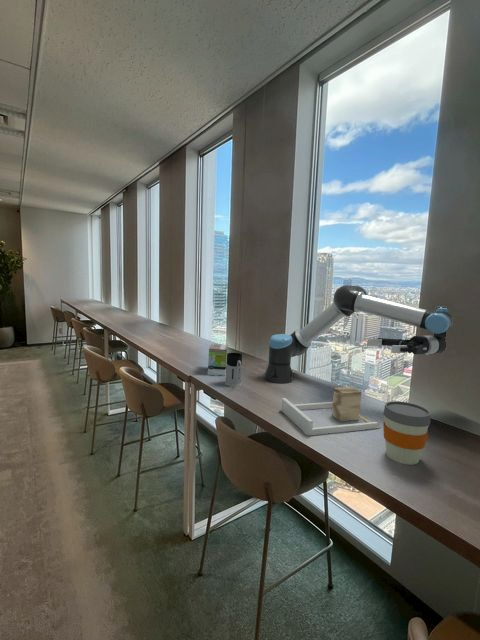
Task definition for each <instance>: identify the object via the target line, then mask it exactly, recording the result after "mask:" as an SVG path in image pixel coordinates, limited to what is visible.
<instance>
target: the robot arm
mask: <svg viewBox="0 0 480 640" xmlns="http://www.w3.org/2000/svg"><path fill="white" fill-rule="evenodd" d="M439 307H440V308H438V309H437V310H436V312H435V310H434V311H433V310H429V309H424V308H421V307H416V306H412V305H409V304H404V303H400V302H396V301H392V300H388V299H383V298H381V297H380V298H379V297H377V296H371V295H369V293H368V291H367V290H366V289H365V288H364V287H363V286H360V285H349V284H348V285H342V286H340V287H338V288H337V289H336V290H335V292H334V294H333V299H332V303H331V304H330V305H329V306H328V307H326V308H325V309H324V310H323V311H322V312H320V313H319V314H318V315H317V316H316V317H314V318H313V319H312V320H311V321H310V322H309V323H307V324H305V326H303V328H301V329H300V328H299V329H296V330H294V331H293V332H292V333H291V334H287V333H280V334H279V333H278V334H277V333H276V334H273V335H271V337H269V342H268V363H267V367H266V369H265V372H264V377H263V378H264V380H266V382H267V381H268V382H271V383H275V384H288V383H291V382H293V381H294V374H293V371H292V367H291V365H292V364H291V363H292V361H291V360H292V358H293V357H297V356H298V357H299V356H302V355H303V354H305V353H306V351H308V349H309V348H310V347H311V346H312V342H313V341H314V340H316V339H317V338H319V336H321V335H323V334H324V333H325V332H326V331H327V330H328V329H330V328H331V327H333V325H335V324H336V323H338V322H339V321H340V320H342V319H343V318H344V317H350V316H351V315H353V314H355V313H356V314H357V313H360V312H362V313H364V314H370V315H372V316H376V317H379V318H383V319H387V320H390V321H393V322H394V321H395V322H398V323H400V324H405V325H409V326H412V327H416V328H419V329H422V330H426V331H428V332H429V333H431V334H432V333H434V336H432V335H414V336H411V338H410V339H401V338H400V339H399V338H386V337H384V338H383V337H377V338H367V340H366V346H368V347H374V346H375V347H377V346H378V347H381V346H390V347H391V350H390V353H391V354H407V353H408V354H413V355H425V356H429V355H440V354H439V353H442V352H443V351H444V350H445V348H446V342H445V340H446V339H445V337H446V331H447V330H448V329H450V328H451V327H452V325H453V318H452V316H451V315H450V314H448V309H447V308H442V307H443V306H439Z"/></svg>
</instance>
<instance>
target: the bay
mask: <svg viewBox="0 0 480 640" xmlns="http://www.w3.org/2000/svg"><path fill="white" fill-rule="evenodd" d="M280 407H281V408H280V409H281V412H282V413H284V415H286V416H287V417H288V419H290V420H291V421H292V422H293V423H294V424H295V425H296V426H297V428H298V427H299V428H300V430H301V431H303V433H304V434H306V435H307V436H309V437H310V436H316V435H317V436H319V435H326V434H327V435H328V433H329V434H337V433H347V432H354V431H355V432H356V431H365V430H366V429H367V430H375V429H381V427H380V426H379V422H377V421H371V420H369V419H368V418H366V417H364V416H363V417H361V416H362V415H361V416H359V417H361V418H362V419H363V421H364V420H365V421H364V422H359V423H358V422H356V423H350V424H338V425H329V426H327V425H326V426H316V427H313V426H314V420H312V418H310V417H309V416H308V415H306V413H304V412H303V411H305V410H306V411H307V410H318V409H319V410H320V409H332V407H333V401H328V402H326V401H324V402H313V403H312V402H311V403H299V404H298V403H297V404H294V403H292V402H291V401H290V400H288V399H287V398H286V397H282V398H281V406H280ZM361 418H360V419H361ZM362 419H361V420H362ZM367 422H368V423H367ZM367 430H366V431H367Z"/></svg>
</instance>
